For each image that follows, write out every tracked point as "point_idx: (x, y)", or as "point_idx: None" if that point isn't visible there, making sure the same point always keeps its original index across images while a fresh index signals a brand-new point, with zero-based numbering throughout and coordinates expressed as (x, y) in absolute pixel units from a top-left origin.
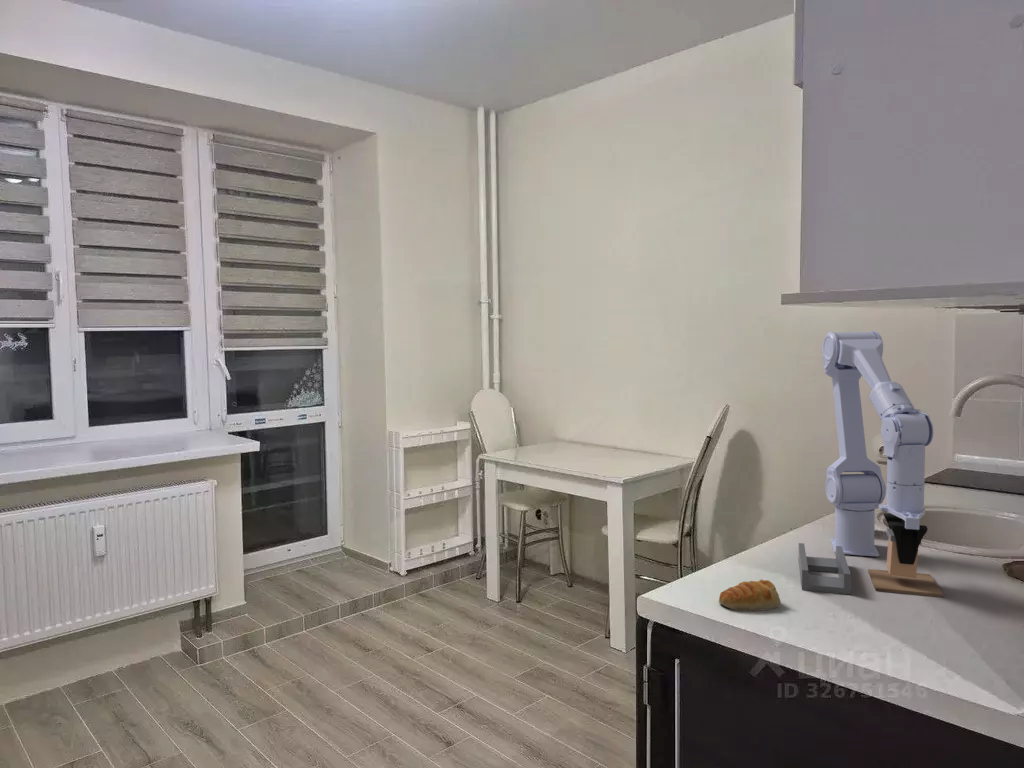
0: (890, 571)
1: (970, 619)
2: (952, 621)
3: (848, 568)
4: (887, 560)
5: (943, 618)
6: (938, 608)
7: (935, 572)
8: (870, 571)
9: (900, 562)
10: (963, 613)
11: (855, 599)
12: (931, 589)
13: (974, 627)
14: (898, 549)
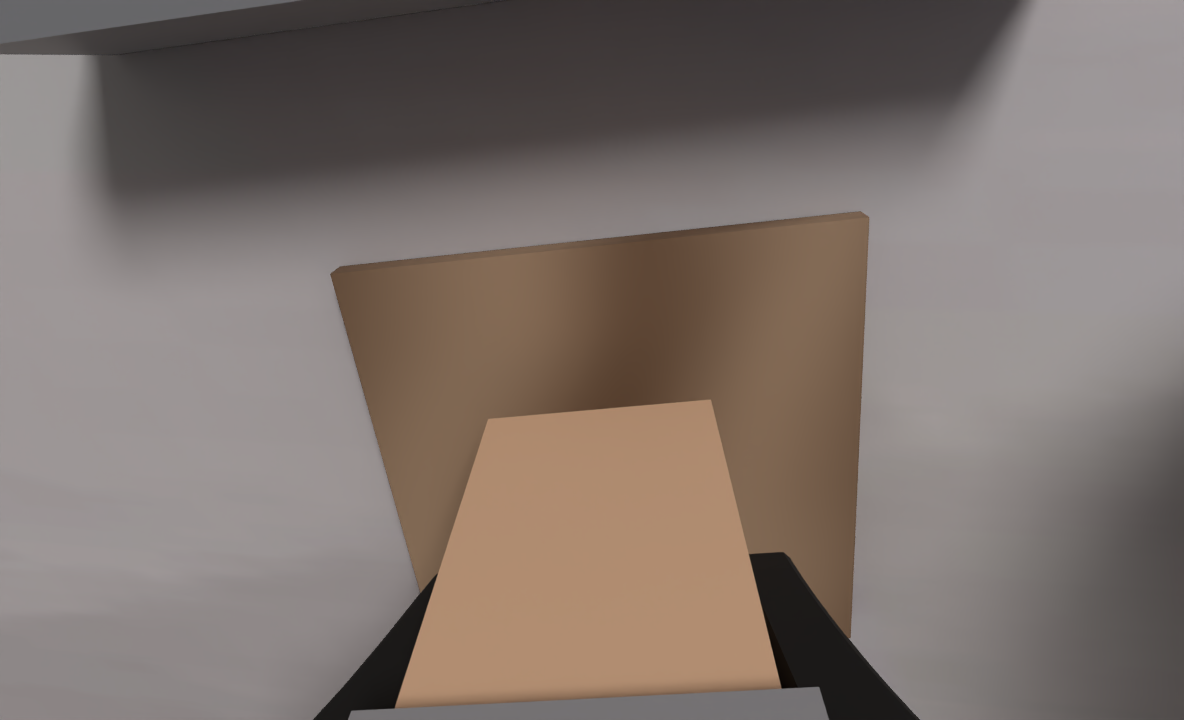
0: (482, 438)
1: (152, 709)
2: (56, 639)
3: (135, 18)
4: (681, 449)
5: (70, 608)
6: (223, 603)
7: (966, 657)
8: (793, 237)
9: (429, 583)
10: (223, 695)
11: (24, 103)
12: None
13: (46, 709)
14: (340, 695)
